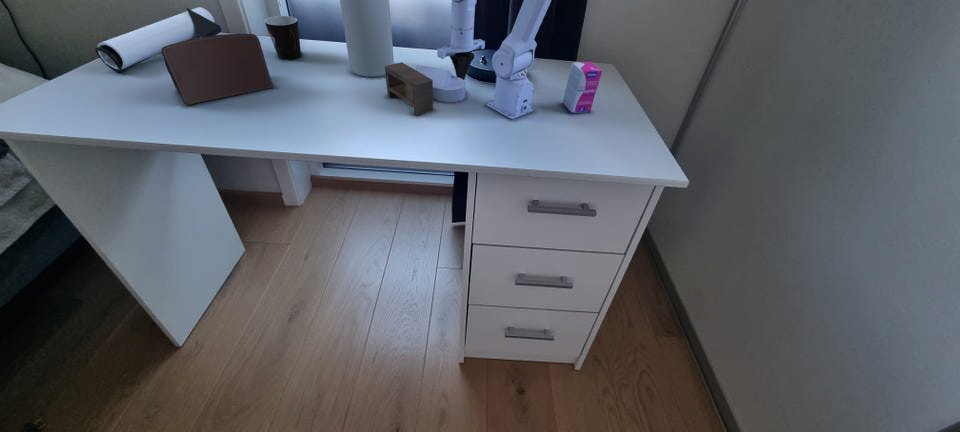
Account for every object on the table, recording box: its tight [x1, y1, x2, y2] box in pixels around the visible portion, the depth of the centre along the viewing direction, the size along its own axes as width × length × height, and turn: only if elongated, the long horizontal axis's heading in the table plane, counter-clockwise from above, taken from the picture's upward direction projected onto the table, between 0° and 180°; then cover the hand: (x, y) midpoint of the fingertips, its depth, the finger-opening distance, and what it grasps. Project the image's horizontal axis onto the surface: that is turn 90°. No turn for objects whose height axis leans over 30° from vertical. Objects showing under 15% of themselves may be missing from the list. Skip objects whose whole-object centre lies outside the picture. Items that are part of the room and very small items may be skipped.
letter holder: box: [160, 33, 274, 107], centre depth 95 cm, size 10×20×14 cm, turn 129°
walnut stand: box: [385, 62, 434, 117], centre depth 98 cm, size 13×5×8 cm, turn 42°
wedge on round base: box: [415, 64, 466, 103], centre depth 104 cm, size 9×7×13 cm
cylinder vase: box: [339, 0, 395, 78], centre depth 107 cm, size 12×12×25 cm
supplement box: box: [561, 61, 603, 114], centre depth 101 cm, size 6×6×12 cm
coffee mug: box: [263, 15, 302, 61], centre depth 114 cm, size 12×9×10 cm
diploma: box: [95, 6, 223, 74], centre depth 111 cm, size 35×9×14 cm
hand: (460, 79), depth 108 cm, fingers closed
